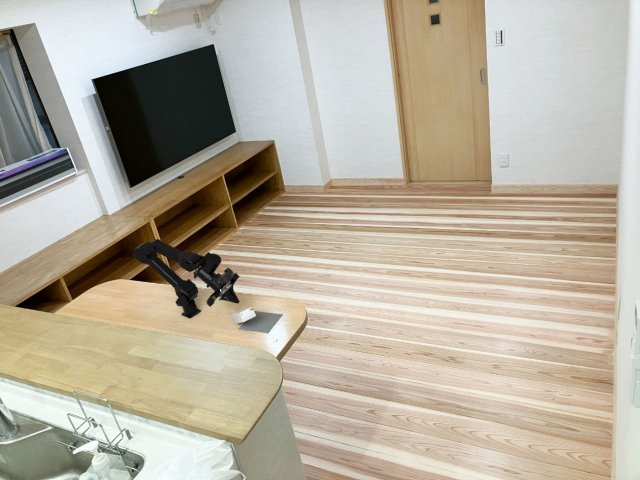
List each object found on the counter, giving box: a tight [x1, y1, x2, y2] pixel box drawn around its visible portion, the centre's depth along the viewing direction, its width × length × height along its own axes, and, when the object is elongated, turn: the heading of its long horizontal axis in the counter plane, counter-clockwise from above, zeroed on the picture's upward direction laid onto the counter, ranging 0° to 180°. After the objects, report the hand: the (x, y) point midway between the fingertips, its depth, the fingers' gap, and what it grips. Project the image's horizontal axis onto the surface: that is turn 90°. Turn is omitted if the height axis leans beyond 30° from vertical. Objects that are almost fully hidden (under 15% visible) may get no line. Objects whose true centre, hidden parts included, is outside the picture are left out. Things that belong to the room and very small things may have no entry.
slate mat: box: [237, 310, 283, 334], centre depth 213 cm, size 14×13×1 cm
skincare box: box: [231, 306, 256, 325], centre depth 210 cm, size 6×4×12 cm
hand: (238, 302), depth 213 cm, fingers closed
